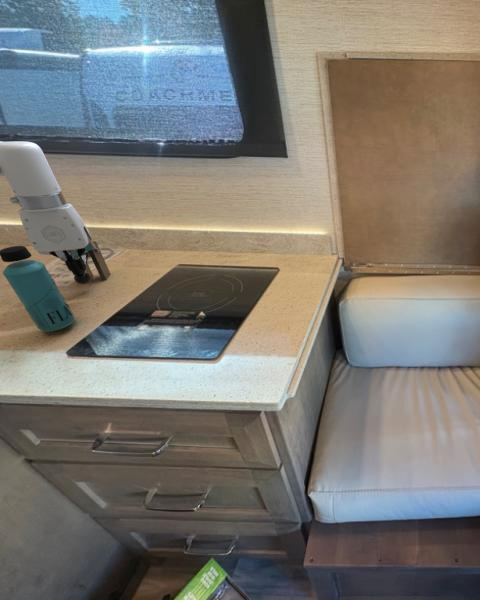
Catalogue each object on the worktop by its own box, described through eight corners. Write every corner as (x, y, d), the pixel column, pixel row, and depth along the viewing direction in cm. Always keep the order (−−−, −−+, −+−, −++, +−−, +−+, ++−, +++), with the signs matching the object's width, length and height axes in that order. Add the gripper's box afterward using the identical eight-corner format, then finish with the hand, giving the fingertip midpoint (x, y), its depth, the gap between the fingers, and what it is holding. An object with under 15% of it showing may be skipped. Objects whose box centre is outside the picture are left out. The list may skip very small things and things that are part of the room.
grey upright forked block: (118, 286, 94) (101, 247, 88) (73, 291, 90) (52, 252, 84) (124, 275, 100) (108, 238, 94) (82, 280, 96) (62, 242, 90)
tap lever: (93, 285, 87) (86, 278, 85) (77, 287, 86) (70, 280, 84) (95, 250, 92) (89, 242, 90) (81, 251, 91) (74, 244, 89)
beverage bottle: (57, 339, 73) (6, 256, 63) (32, 335, 74) (-22, 252, 64) (86, 323, 79) (43, 244, 69) (62, 319, 80) (16, 241, 69)
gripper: (-11, 208, 70) (35, 283, 80) (79, 203, 76) (111, 274, 85) (8, 199, 76) (48, 270, 86) (89, 195, 82) (119, 262, 91)
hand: (79, 272), depth 85 cm, fingers closed
